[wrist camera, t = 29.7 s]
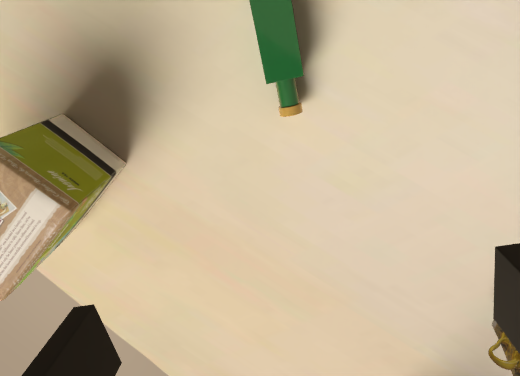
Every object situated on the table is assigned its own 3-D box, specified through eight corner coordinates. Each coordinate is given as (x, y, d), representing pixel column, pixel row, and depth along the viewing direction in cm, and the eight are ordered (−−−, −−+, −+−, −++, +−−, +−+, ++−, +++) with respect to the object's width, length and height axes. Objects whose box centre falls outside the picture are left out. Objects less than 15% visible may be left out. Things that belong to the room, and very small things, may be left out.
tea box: (73, 235, 53) (0, 306, 39) (10, 191, 51) (-90, 250, 37) (130, 162, 48) (70, 213, 34) (63, 109, 46) (-29, 143, 32)
